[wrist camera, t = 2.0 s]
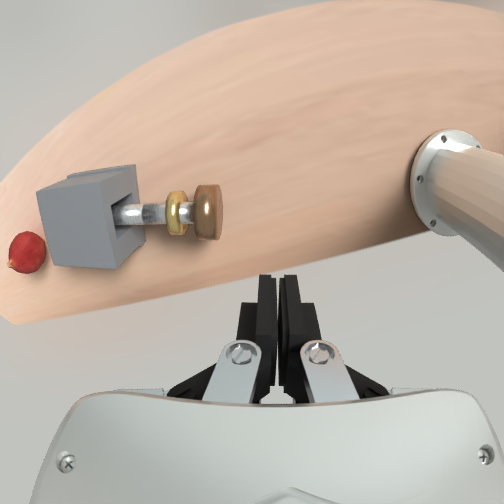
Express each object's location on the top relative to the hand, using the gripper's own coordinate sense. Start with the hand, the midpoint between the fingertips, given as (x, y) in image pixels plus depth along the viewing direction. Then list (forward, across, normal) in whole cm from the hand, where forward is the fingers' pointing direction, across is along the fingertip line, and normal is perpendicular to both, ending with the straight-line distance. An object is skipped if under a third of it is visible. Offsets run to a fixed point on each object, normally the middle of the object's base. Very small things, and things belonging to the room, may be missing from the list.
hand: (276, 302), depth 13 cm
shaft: (+16, +11, 0) cm, 19 cm away
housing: (+17, +19, 0) cm, 26 cm away
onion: (+18, +33, +4) cm, 38 cm away
